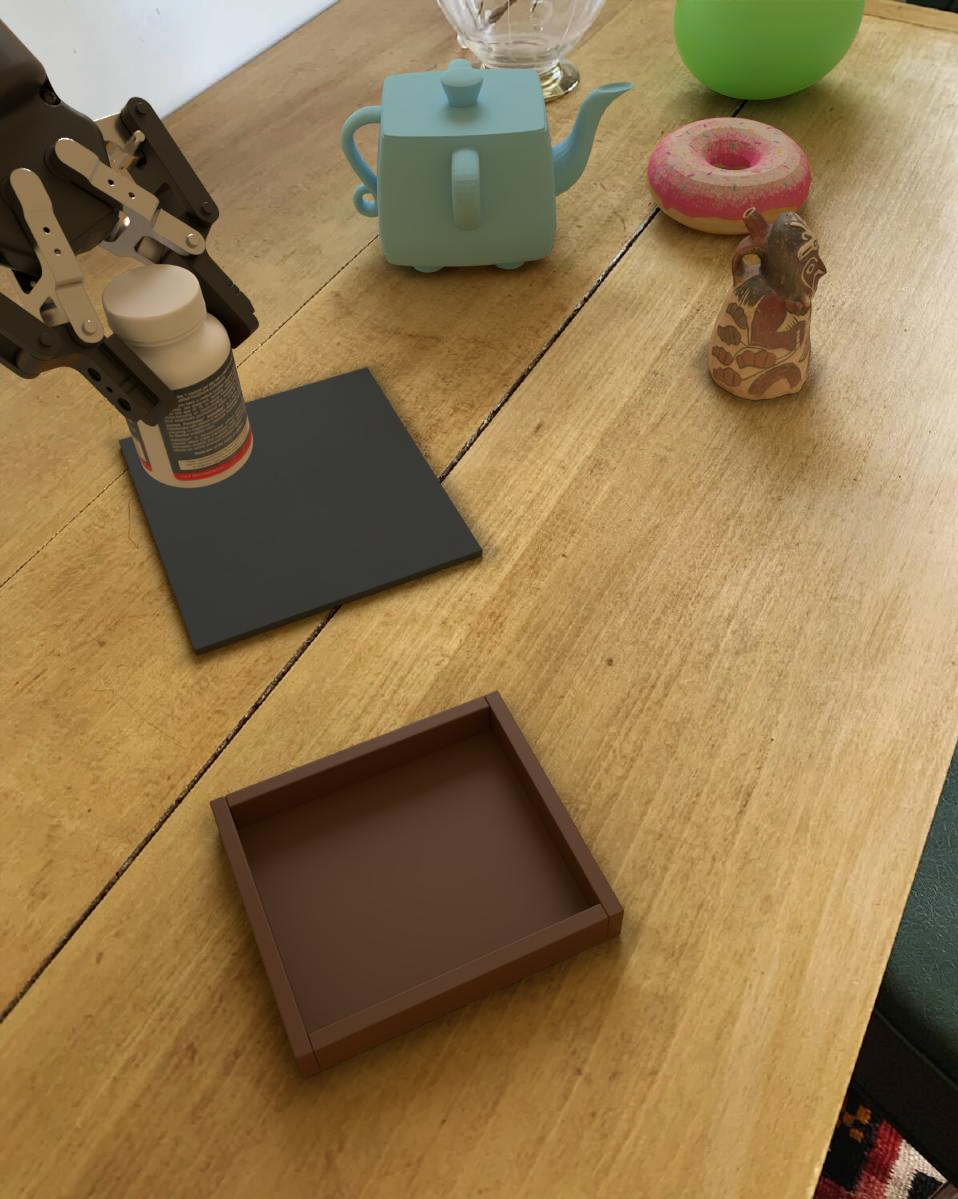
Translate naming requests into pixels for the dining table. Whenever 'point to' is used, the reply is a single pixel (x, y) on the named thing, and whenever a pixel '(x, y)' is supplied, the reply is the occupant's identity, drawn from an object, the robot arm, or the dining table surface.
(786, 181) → the donut
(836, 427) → the dining table surface
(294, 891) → the tray
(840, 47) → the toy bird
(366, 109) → the teapot
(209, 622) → the mat
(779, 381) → the figurine
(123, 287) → the pill bottle
